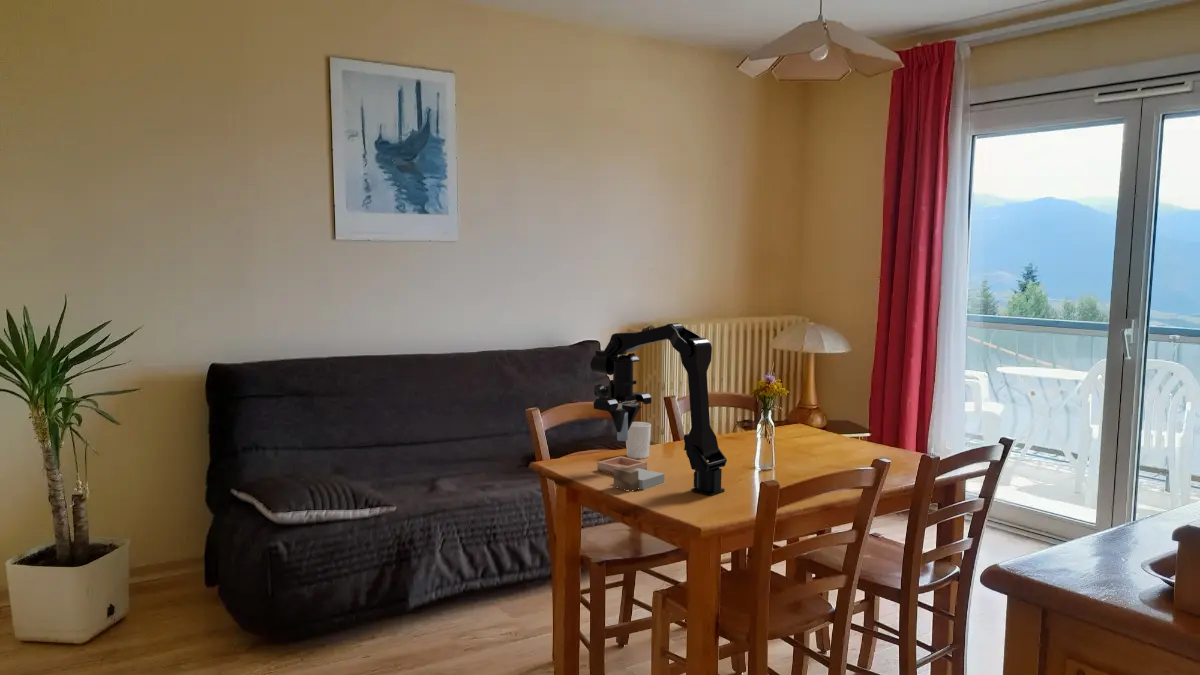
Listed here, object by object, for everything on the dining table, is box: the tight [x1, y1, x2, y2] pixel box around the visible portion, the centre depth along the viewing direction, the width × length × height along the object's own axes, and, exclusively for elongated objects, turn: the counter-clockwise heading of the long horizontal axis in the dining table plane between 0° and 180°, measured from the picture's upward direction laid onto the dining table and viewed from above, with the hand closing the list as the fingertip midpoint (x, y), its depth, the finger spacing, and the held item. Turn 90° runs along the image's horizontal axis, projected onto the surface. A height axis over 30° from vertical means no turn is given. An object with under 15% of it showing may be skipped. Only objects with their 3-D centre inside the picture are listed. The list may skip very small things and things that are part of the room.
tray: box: [597, 455, 648, 475], centre depth 233 cm, size 10×10×2 cm
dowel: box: [616, 411, 628, 442], centre depth 232 cm, size 3×3×8 cm
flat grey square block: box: [634, 468, 665, 491], centre depth 219 cm, size 9×9×3 cm
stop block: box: [613, 467, 639, 492], centre depth 215 cm, size 6×3×5 cm, turn 46°
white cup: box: [625, 421, 652, 460], centre depth 250 cm, size 8×8×10 cm
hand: (622, 431), depth 232 cm, fingers closed on dowel, 3 cm apart
